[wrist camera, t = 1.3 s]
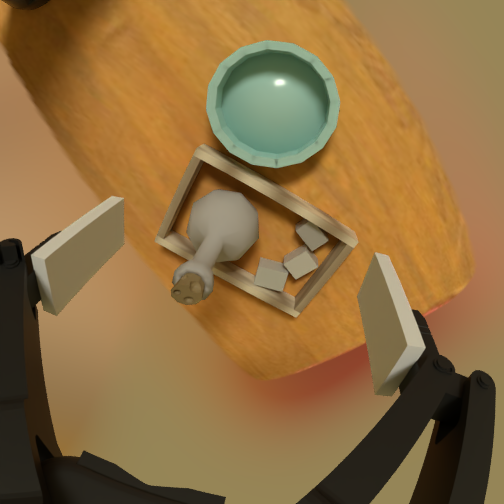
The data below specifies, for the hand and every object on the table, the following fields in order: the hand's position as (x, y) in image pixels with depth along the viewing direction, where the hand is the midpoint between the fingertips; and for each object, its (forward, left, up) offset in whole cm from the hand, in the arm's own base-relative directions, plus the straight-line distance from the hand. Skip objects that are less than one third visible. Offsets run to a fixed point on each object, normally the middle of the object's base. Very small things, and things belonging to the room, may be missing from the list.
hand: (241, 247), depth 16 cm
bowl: (-3, +5, -24) cm, 25 cm away
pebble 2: (+10, -10, -25) cm, 28 cm away
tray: (+3, -10, -24) cm, 26 cm away
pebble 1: (+9, -6, -25) cm, 27 cm away
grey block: (+8, -14, -25) cm, 29 cm away
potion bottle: (-1, -10, -25) cm, 27 cm away
